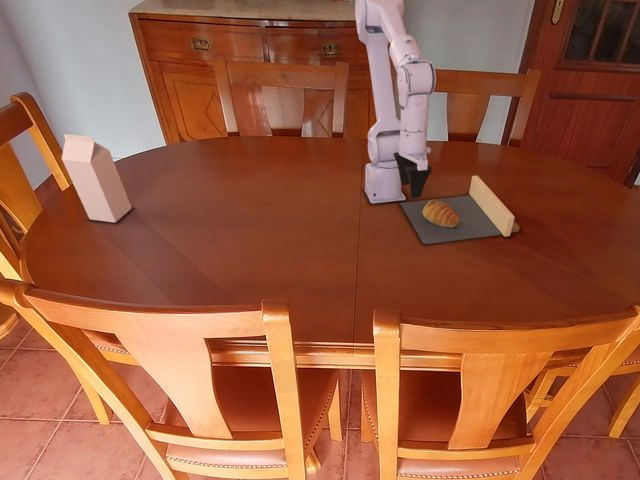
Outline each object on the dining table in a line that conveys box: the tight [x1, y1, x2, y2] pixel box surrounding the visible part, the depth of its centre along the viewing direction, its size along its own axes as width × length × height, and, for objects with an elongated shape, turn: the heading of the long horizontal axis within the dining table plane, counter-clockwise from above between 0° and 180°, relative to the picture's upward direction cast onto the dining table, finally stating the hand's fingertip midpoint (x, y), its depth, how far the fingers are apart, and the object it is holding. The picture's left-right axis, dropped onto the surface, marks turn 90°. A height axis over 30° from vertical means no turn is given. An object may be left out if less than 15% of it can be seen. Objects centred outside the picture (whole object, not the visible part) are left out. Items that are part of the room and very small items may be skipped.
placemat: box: [399, 194, 503, 245], centre depth 116 cm, size 20×20×1 cm
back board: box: [468, 175, 521, 238], centre depth 116 cm, size 4×22×5 cm, turn 14°
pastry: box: [422, 199, 460, 227], centre depth 114 cm, size 9×7×4 cm
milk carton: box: [61, 133, 132, 223], centre depth 109 cm, size 7×7×19 cm
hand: (410, 190), depth 108 cm, fingers open, 7 cm apart
